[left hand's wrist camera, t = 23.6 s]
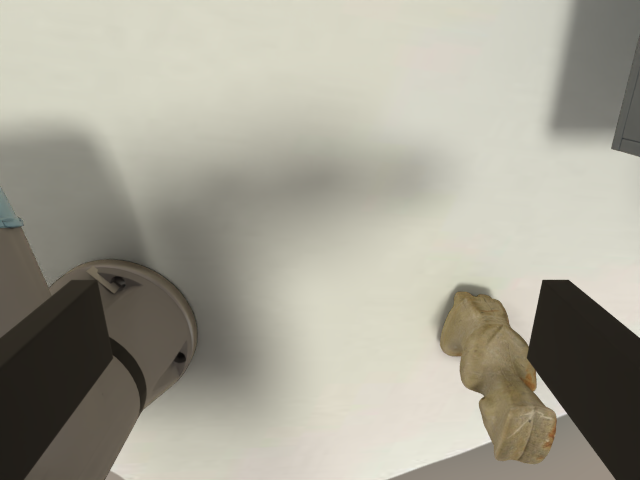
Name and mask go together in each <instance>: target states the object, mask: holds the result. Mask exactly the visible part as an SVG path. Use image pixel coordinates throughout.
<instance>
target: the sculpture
mask: <svg viewBox="0 0 640 480" xmlns="http://www.w3.org/2000/svg"><path fill="white" fill-rule="evenodd" d="M440 346H441V349H442V350H443V352H444V353H446V354H447V355H450V356H461V362H460V375H461V380H462V383H463V384H464V386H465V387H466V388H468V389H470V390H473V391H475V392H478V393H481V394H483V395H484V397H483V398H482V399H481V400H480V401H479V408H480V411H481V415H482V419H483V423H484V426H485V428H486V430H487V432H488V434H489V436H490V438H491V441H492V443H493V445H494V456H495V459H496V460H499V461H506V460H517V461H520V462H523V463H528V464H537V463H540V462H541V461H543V459H544V458H545V457H546V456H547V454H548V453H549V451H550V448H551V445H552V443H553V440H554V437H555V433H556V422H557V419H556V414H555V412H554V411H553V410H551V409H550V408H547V407H546V406H545V405H544V404H543V403H542V402H541V400H540V399H539V398H538V397H537V395H536V394H535V393H534V392H533V391H535V389H536V386H537V384H536V370H535V369H534V368H533V366H532V365H531V363H530V362H529V361H528V359H527V354H528V349H529V346H528V345H527V343H526V342H525V340H524V339H523V338H522V337H521V336H520V335H519V334H518V333H516V332H515V331H514V330H513V329H512V328H511V327H510V325H509V320H508V316H507V313H506V311H505V308H504V307H503V305H502V304H501V302H500V301H498V300H496V299H492V298H491V297H490V296H488V295H483V294H479V295H478V296H477V297H474V296H472V295H471V294H470V293H468V292H457V293H456V294H455V297H454V306H453V308H452V309H451V311H450V312H449V314H448V316H447V319H446V321H445V324H444V327H443V329H442V333H441V340H440Z"/></svg>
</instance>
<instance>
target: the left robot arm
mask: <svg viewBox="0 0 640 480" xmlns="http://www.w3.org/2000/svg"><path fill="white" fill-rule="evenodd" d="M23 225H24V224H23V221H22V219H21V218H19V217H17V216H16V215H15V213H14V211H13V209H12V207H11V205H10V203H9V201H8V200H7V198H6V196H5V194H4V192H3V190H2V188H1V186H0V480H105V479H106V477H107V475H108V473H109V471H110V469H111V467H112V466H113V464H114V462H115V460H116V458H117V456H118V454H119V453H120V451H121V449H122V447H123V445H124V443H125V441H126V440H127V438H128V436H129V434H130V432H131V430H132V428H133V427H134V425H135V423H136V421H137V419H138V417H139V415H140V414H141V412H142V410H143V409H145V408H146V407H147V406H148V405H150V404H151V403H152V402H153V401H154V400H156V399H157V398H158V397H159V396H160V395H162V394H163V393H164V392H165V391H166V390H168V389H169V388H170V387H171V386H172V385H174V384H175V383H176V382H177V381H178V380H179V379H180V378H181V376H182V375H183V374H184V372H185V371H186V369H187V367H188V365H189V363H190V361H191V359H192V357H193V355H194V352H195V349H196V345H197V326H196V321H195V318H194V315H193V312H192V310H191V308H190V306H189V304H188V302H187V301H186V299H185V298H184V296H183V295H182V294H181V293H180V292H179V290H178V289H177V288H176V287H175V286H174V285H173V284H172V283H170V282H169V281H168V280H167V279H165V278H164V277H163V276H161V275H160V274H158V273H156V272H155V271H153V270H151V269H149V268H147V267H144V266H141V265H139V264H135V263H132V262H128V261H122V260H109V259H107V260H97V261H91V262H88V263H84V264H82V265H79V266H77V267H75V268H73V269H72V270H70V271H69V272H67V273H66V274H65V275H63V276H62V277H61V278H59V279H58V280H57V281H56V282H55V283H53V284H52V285H51V286H50V288H48V286H47V283H46V281H45V279H44V277H43V274H42V272H41V270H40V268H39V266H38V263H37V261H36V259H35V257H34V254H33V252H32V250H31V248H30V245H29V243H28V241H27V239H26V237H25V234H24V232H23V230H22V228H21V226H23ZM527 359H528V361H529V362H530V363H531V365H532V366H533V368H534V369H535V370H536V372H537V373H538V374H539V376H540V377H541V378H542V380H543V381H544V383H545V384H546V385H547V387H548V388H549V389H550V391H551V392H552V393H553V395H554V396H555V398H556V399H557V400H558V402H559V403H560V404H561V406H562V407H563V408H564V410H565V411H566V413H567V414H568V415H569V417H570V418H571V419H572V421H573V422H574V423H575V425H576V426H577V427H578V429H579V430H580V432H581V433H582V434H583V436H584V437H585V438H586V440H587V441H588V442H589V444H590V445H591V447H592V448H593V449H594V451H595V452H596V453H597V455H598V456H599V457H600V459H601V460H602V462H603V463H604V464H605V466H606V467H607V468H608V470H609V471H610V472H611V474H612V475H613V477H614V478H615V479H616V480H640V338H639V337H638V336H637V335H635V334H634V333H633V332H632V331H631V330H629V329H628V328H627V327H626V326H624V325H623V324H622V323H621V322H619V321H618V320H617V319H616V318H615V317H613V316H612V315H611V314H610V313H608V312H607V311H606V310H605V309H604V308H602V307H601V306H600V305H599V304H597V303H596V302H595V301H594V300H593V299H591V298H590V297H589V296H588V295H586V294H585V293H584V292H583V291H582V290H580V289H579V288H578V287H577V286H575V285H574V284H573V283H572V282H571V281H569V280H542V285H541V290H540V295H539V300H538V305H537V310H536V314H535V319H534V324H533V329H532V334H531V339H530V344H529V349H528V354H527Z"/></svg>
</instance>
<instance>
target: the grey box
mask: <svg viewBox="0 0 640 480" xmlns="http://www.w3.org/2000/svg"><path fill="white" fill-rule="evenodd" d="M611 149H613V150H617V151H621V152H625V153H628V154H632V155H635V156H639V157H640V36H639V40H638V44H637V48H636V52H635V56H634V60H633V64H632V68H631V72H630V76H629V80H628V84H627V88H626V92H625V95H624V99H623V103H622V107H621V111H620V115H619V119H618V123H617V127H616V131H615V135H614V139H613V143H612V147H611Z"/></svg>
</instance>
